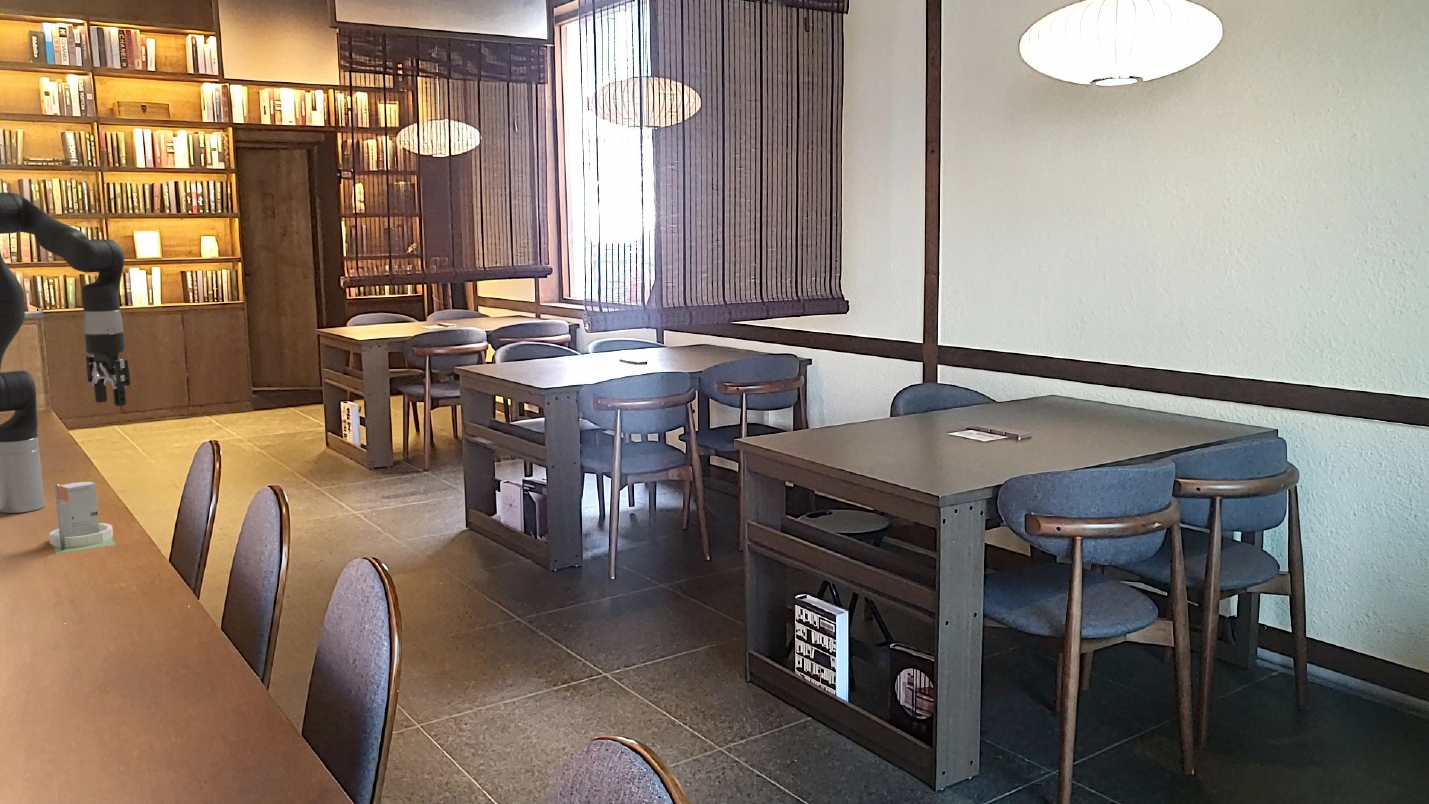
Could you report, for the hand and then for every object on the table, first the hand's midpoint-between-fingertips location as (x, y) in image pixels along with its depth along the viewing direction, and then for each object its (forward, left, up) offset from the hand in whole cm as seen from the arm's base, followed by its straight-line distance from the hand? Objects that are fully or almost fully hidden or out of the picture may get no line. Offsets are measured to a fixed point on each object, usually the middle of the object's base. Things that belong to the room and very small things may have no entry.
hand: (110, 403), depth 246 cm
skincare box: (+5, -11, -28) cm, 30 cm away
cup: (+5, -11, -28) cm, 30 cm away
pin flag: (+12, -17, -28) cm, 35 cm away
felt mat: (+5, -11, -28) cm, 31 cm away
